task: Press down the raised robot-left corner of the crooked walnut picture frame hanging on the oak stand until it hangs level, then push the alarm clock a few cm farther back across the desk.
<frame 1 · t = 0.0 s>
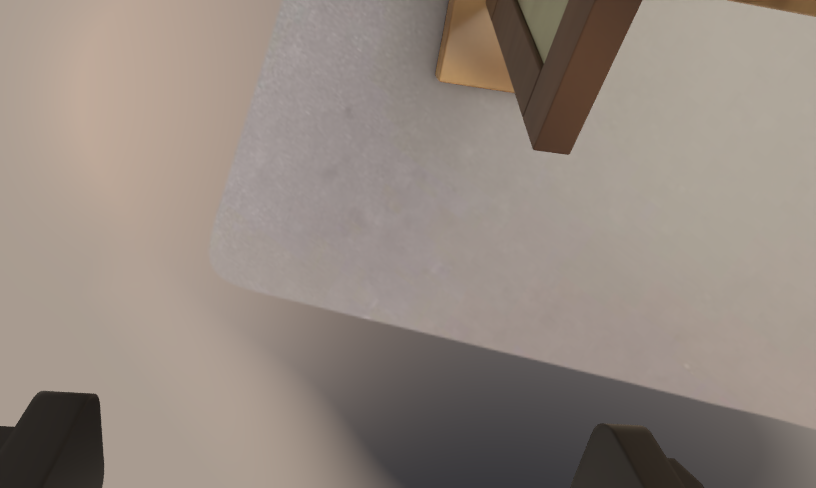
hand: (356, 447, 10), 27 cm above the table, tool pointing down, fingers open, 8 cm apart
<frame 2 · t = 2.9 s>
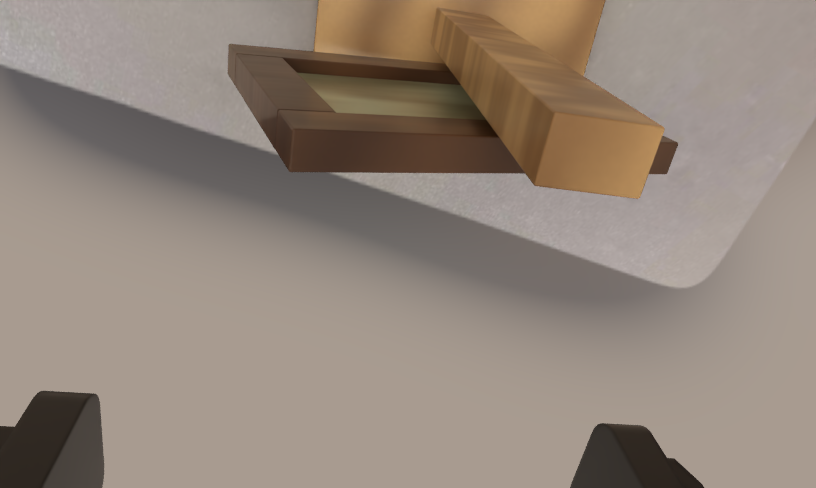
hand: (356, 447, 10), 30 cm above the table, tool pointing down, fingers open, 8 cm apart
stand: (455, 26, 36), on the table
frame: (439, 106, 26), point 11 cm above the table, hinge at 18.0°
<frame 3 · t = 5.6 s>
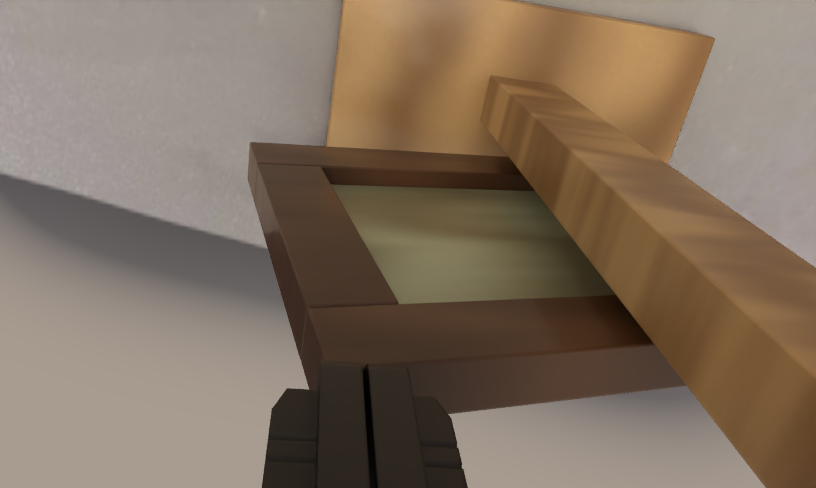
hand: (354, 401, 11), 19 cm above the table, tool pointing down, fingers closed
stand: (508, 94, 28), on the table
frame: (537, 242, 19), point 11 cm above the table, hinge at 12.9°, touching gripper
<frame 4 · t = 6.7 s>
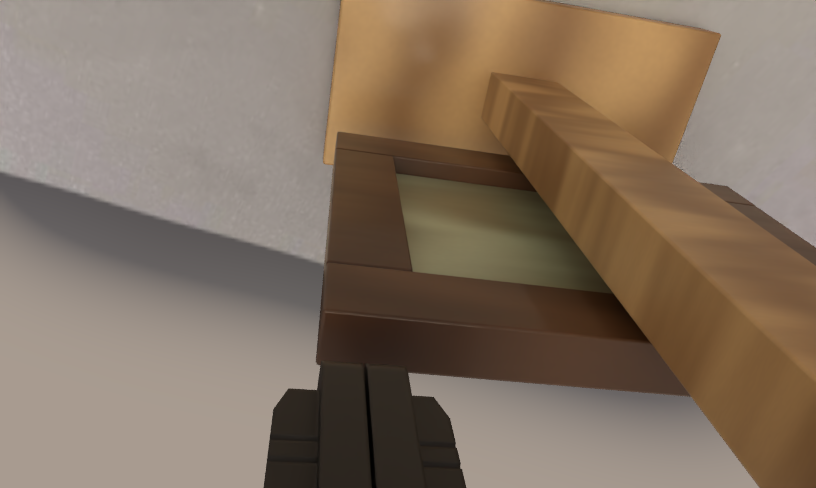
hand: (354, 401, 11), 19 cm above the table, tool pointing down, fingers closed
stand: (510, 92, 27), on the table
frame: (589, 246, 19), point 11 cm above the table, hinge at -1.4°
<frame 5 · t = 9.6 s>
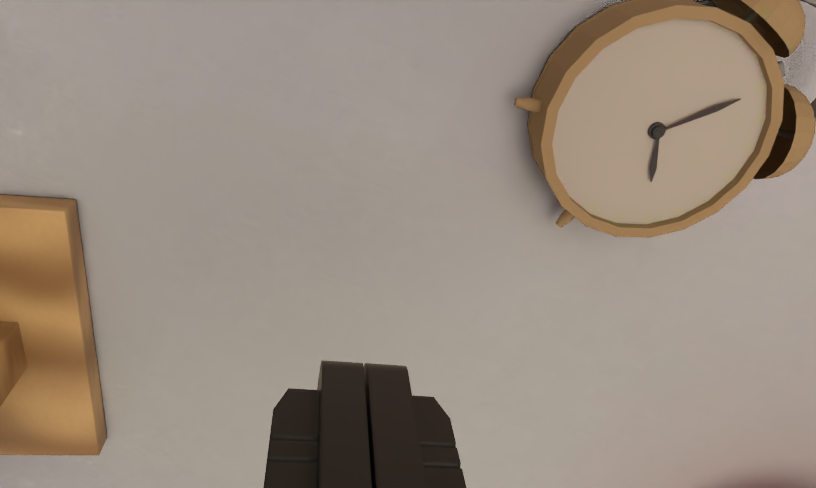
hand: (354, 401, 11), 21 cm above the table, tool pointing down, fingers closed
stand: (15, 327, 33), on the table
alarm clock: (662, 95, 31), on the table
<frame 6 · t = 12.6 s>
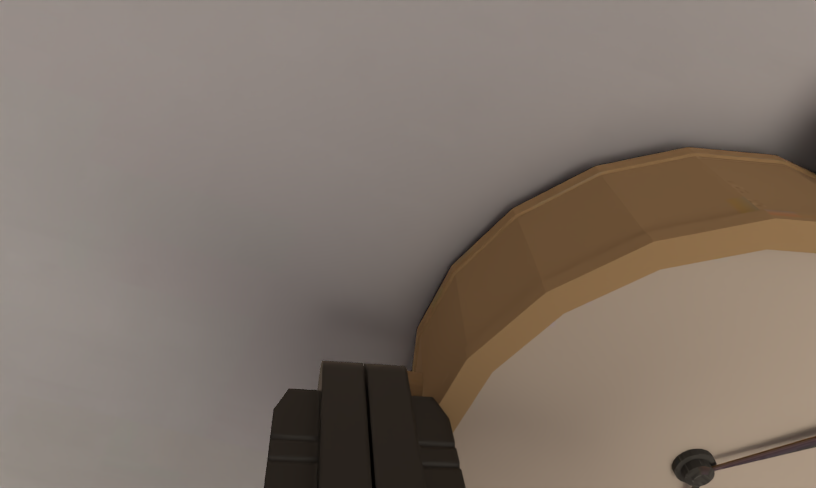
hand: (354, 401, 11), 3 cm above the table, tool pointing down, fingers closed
alarm clock: (701, 333, 15), on the table, touching gripper
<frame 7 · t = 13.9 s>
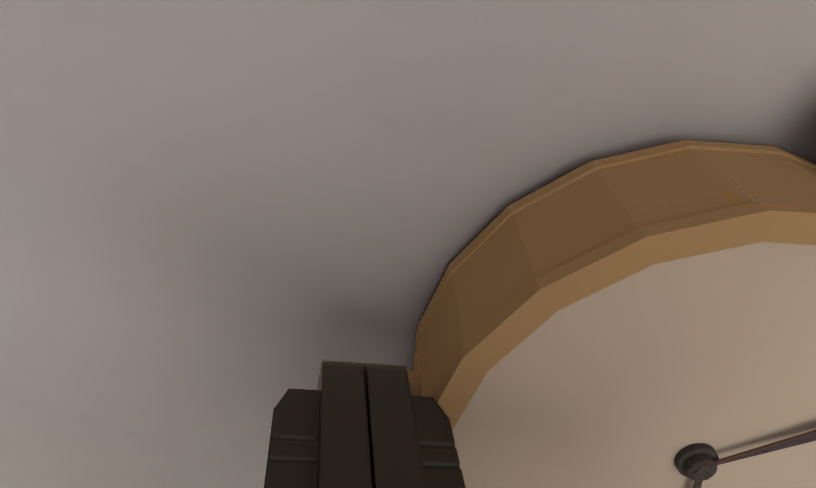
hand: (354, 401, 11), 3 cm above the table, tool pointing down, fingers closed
alarm clock: (704, 327, 15), on the table, touching gripper
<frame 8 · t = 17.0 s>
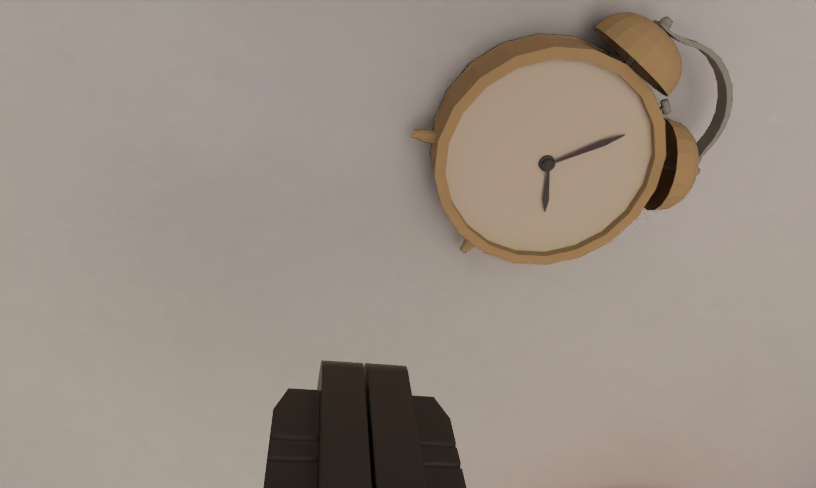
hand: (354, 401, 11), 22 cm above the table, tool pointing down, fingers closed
alarm clock: (561, 127, 33), on the table
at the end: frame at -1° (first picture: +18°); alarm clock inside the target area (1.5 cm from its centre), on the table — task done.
